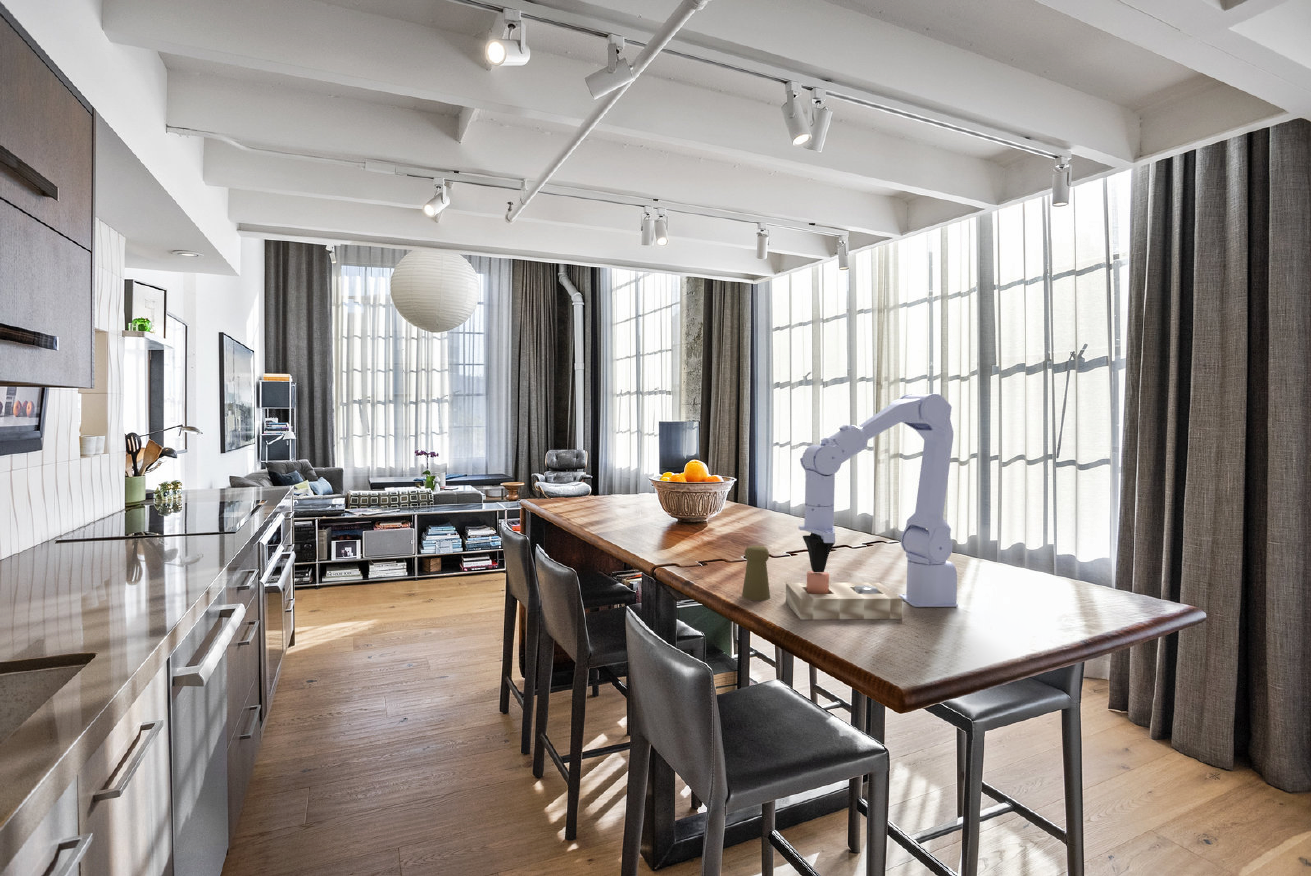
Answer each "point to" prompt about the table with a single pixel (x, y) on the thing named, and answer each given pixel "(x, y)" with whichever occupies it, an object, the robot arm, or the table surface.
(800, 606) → the button board
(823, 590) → the pink rounded cube
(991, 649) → the table surface
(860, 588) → the steel plunger
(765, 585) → the olive pawn
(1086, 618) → the table surface
